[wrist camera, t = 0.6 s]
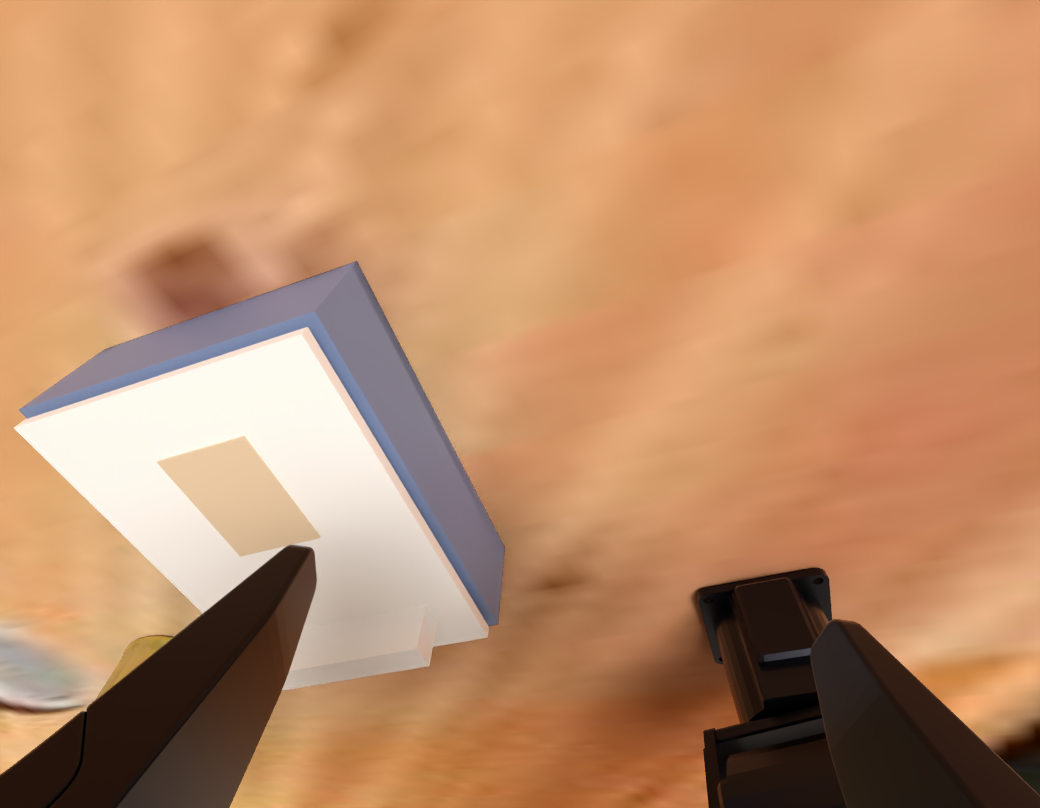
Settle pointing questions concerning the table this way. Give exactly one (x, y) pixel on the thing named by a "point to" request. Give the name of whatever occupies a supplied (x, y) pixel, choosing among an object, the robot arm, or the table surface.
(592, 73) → the table surface
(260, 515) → the lid
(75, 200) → the table surface
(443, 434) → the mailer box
